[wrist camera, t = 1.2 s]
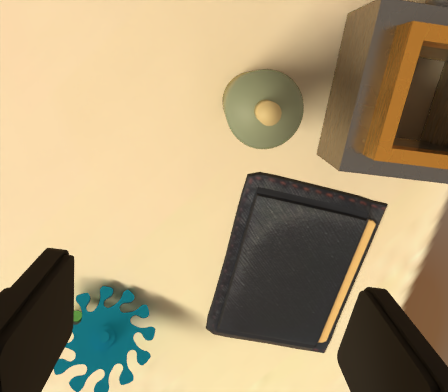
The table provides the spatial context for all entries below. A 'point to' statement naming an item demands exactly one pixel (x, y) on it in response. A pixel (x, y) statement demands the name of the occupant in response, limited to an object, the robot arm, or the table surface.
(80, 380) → the gear
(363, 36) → the box
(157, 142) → the table surface
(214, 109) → the table surface
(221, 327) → the dark grey flat slab
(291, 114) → the spout can
